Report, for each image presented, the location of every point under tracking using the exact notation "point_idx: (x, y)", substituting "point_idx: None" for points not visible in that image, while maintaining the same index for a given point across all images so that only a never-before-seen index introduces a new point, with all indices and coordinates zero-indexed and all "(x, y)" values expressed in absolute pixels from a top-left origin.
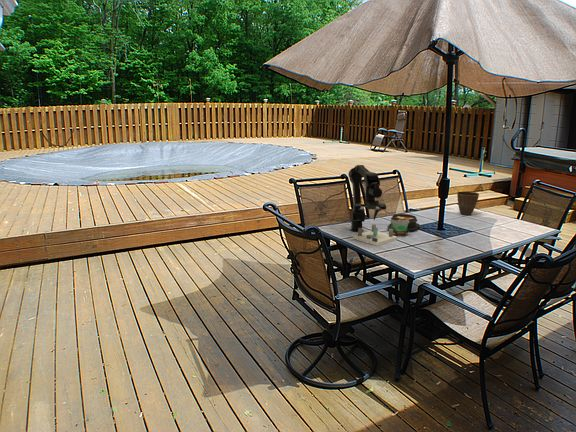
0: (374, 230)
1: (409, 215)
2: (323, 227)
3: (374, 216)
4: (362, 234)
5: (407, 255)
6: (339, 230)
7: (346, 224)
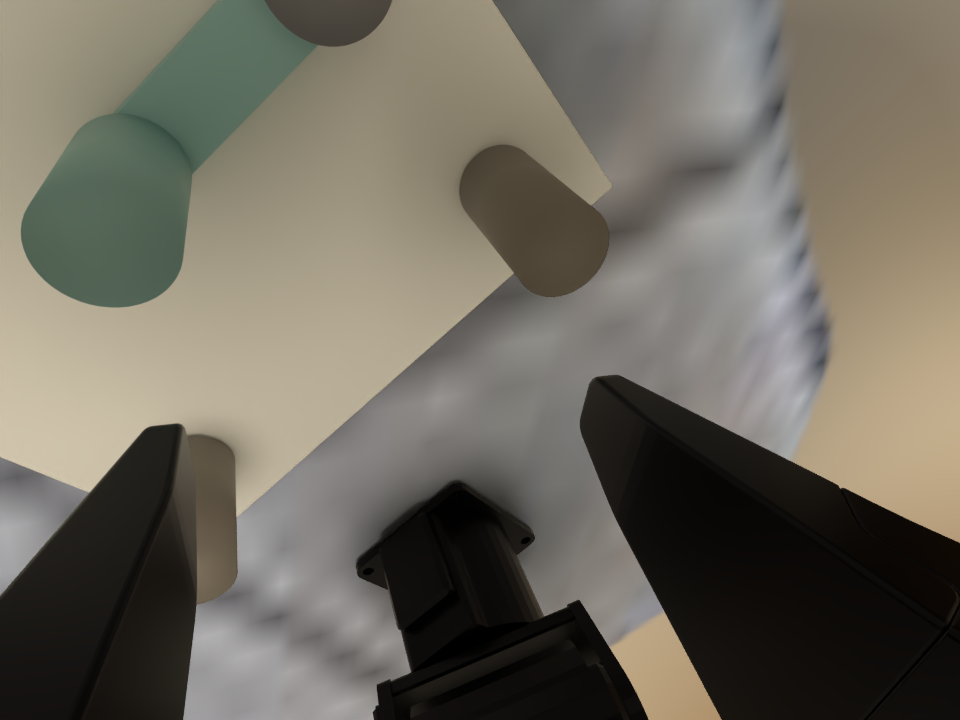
0: (155, 172)
1: None
2: None
3: (130, 560)
4: (432, 267)
5: None
6: None
7: None
